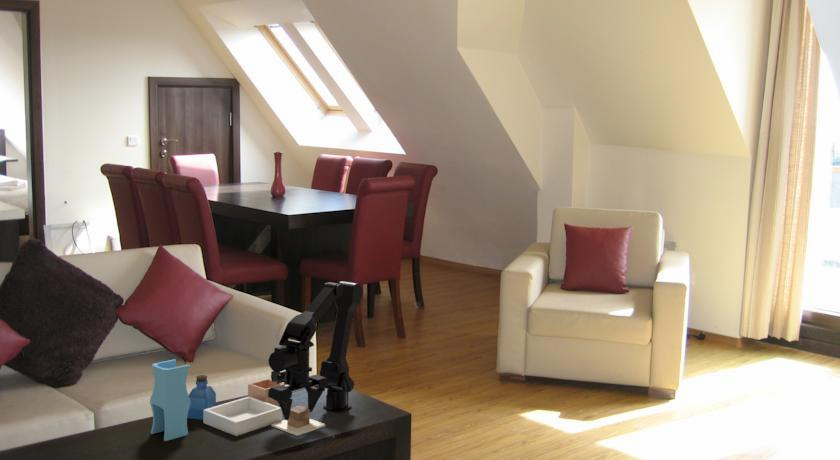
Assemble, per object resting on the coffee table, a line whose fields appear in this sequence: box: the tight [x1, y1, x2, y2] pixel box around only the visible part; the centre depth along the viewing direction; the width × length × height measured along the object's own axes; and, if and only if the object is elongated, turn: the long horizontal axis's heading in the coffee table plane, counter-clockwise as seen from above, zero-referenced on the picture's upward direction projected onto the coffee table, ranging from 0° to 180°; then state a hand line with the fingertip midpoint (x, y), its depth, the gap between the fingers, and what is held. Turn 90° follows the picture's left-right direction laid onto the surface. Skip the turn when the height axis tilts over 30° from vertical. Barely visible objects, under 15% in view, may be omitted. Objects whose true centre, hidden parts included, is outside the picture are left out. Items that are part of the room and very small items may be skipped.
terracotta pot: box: [247, 378, 286, 407], centre depth 270 cm, size 8×8×7 cm
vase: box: [149, 358, 191, 442], centre depth 244 cm, size 8×8×20 cm
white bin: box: [202, 396, 283, 437], centre depth 256 cm, size 17×15×4 cm
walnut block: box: [287, 405, 311, 428], centre depth 253 cm, size 4×4×4 cm
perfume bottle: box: [187, 374, 217, 420], centre depth 259 cm, size 6×6×12 cm
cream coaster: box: [270, 418, 326, 437], centre depth 254 cm, size 11×11×1 cm
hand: (298, 416), depth 253 cm, fingers open, 9 cm apart
